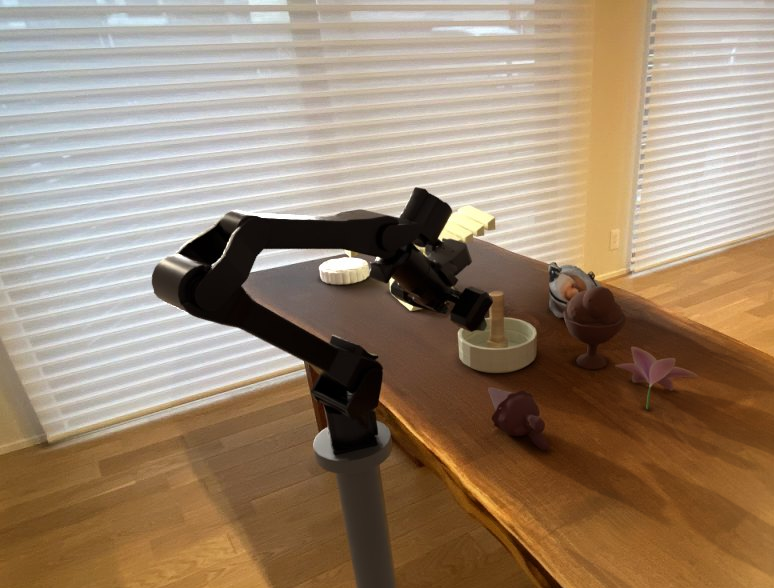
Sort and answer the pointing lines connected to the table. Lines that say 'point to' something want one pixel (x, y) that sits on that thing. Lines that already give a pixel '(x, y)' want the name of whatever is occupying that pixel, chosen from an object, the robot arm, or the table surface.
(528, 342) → the bowl
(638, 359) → the lily
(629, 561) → the table surface
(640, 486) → the table surface
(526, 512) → the table surface
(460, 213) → the slatted curved stool
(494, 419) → the icecream
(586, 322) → the ice cream bowl
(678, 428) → the table surface
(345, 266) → the mooncake
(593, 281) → the grey pot with food
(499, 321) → the cylinder
